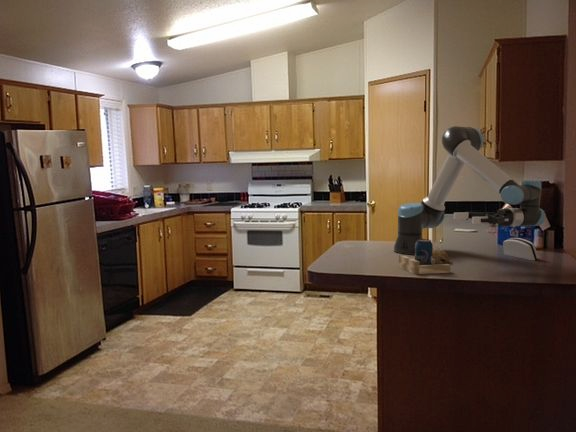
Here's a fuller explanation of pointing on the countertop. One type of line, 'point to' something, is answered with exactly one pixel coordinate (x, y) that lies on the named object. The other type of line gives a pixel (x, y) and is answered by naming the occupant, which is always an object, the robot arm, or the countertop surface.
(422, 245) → the soda can
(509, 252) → the white napkin holder
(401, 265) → the u bracket
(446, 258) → the bread roll
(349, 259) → the countertop surface
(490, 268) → the countertop surface
